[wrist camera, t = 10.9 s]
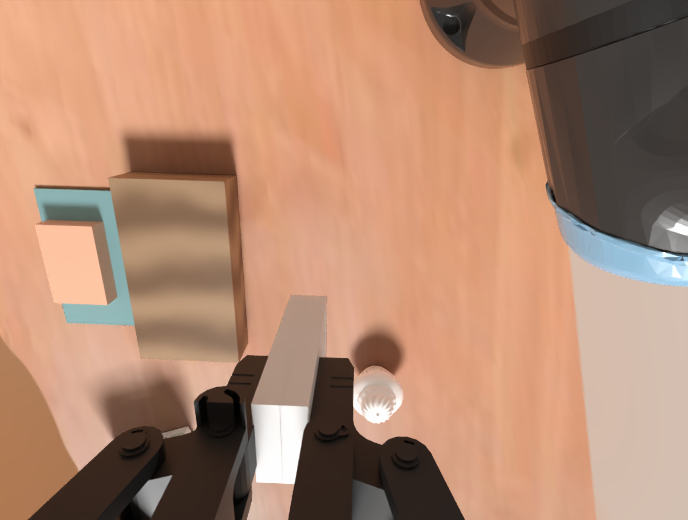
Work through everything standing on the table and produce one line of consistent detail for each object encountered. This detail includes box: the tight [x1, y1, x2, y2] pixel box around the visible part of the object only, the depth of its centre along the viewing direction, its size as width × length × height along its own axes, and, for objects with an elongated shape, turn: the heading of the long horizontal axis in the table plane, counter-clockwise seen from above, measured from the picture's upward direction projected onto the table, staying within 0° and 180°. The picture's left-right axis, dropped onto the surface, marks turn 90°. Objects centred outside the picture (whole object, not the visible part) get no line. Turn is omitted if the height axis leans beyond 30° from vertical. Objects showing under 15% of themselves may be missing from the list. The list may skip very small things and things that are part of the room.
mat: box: [34, 188, 135, 325], centre depth 45 cm, size 16×11×1 cm
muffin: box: [353, 365, 403, 423], centre depth 46 cm, size 6×6×7 cm
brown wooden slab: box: [108, 172, 248, 363], centre depth 43 cm, size 20×11×4 cm, turn 179°
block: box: [35, 220, 118, 305], centre depth 44 cm, size 9×6×2 cm, turn 179°
